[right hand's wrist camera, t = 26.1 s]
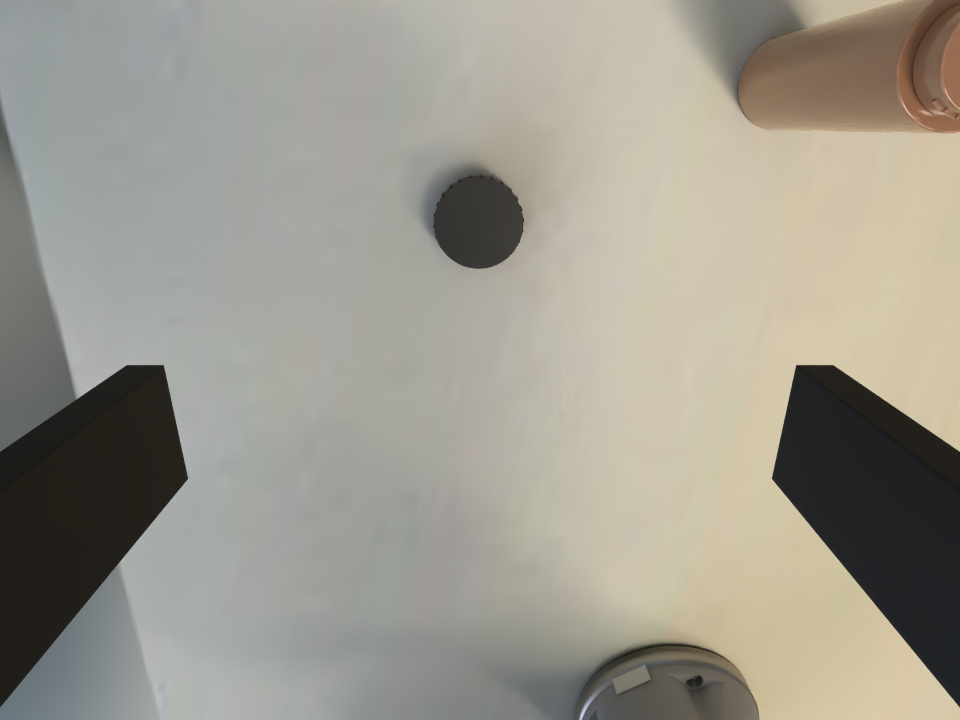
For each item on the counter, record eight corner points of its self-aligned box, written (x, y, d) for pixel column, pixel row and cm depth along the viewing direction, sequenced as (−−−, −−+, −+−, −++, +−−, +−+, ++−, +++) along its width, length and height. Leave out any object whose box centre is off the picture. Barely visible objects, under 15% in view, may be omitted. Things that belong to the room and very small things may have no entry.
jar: (761, 147, 35) (954, 163, 21) (722, 73, 33) (900, 37, 19) (838, 93, 34) (1099, 71, 20) (801, 14, 32) (1054, -71, 18)
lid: (514, 166, 35) (516, 168, 34) (528, 255, 37) (530, 261, 36) (426, 183, 36) (423, 186, 34) (444, 270, 38) (443, 277, 36)
